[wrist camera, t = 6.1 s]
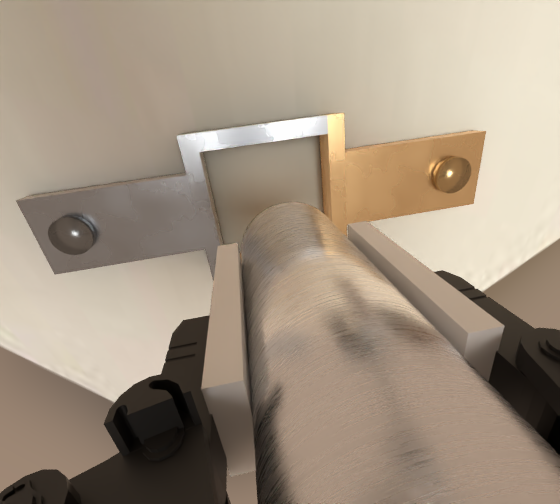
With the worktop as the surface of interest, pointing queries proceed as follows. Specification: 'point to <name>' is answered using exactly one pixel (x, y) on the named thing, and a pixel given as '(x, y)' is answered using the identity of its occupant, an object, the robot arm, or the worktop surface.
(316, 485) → the pin
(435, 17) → the worktop surface
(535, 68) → the worktop surface
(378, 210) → the link plate bronze
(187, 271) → the worktop surface
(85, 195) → the link plate steel
